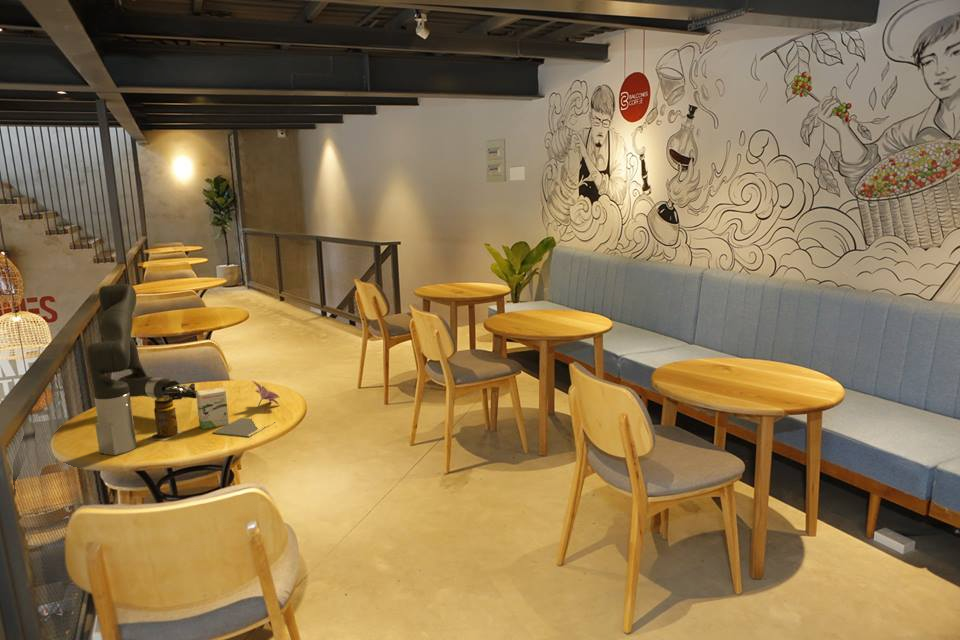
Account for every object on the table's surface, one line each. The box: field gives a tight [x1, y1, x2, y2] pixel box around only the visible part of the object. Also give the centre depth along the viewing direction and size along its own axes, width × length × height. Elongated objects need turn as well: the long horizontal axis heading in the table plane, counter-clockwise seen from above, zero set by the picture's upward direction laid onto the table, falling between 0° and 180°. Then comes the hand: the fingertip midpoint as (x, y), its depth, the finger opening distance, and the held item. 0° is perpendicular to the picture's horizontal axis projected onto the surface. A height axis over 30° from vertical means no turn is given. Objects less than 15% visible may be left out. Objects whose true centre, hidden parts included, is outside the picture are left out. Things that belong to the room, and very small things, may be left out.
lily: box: [252, 380, 280, 410], centre depth 234 cm, size 12×12×10 cm
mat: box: [212, 417, 266, 438], centre depth 214 cm, size 14×14×1 cm
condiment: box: [146, 397, 185, 442], centre depth 209 cm, size 7×8×12 cm
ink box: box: [196, 387, 230, 430], centre depth 217 cm, size 9×5×12 cm, turn 123°
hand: (196, 394), depth 219 cm, fingers closed
